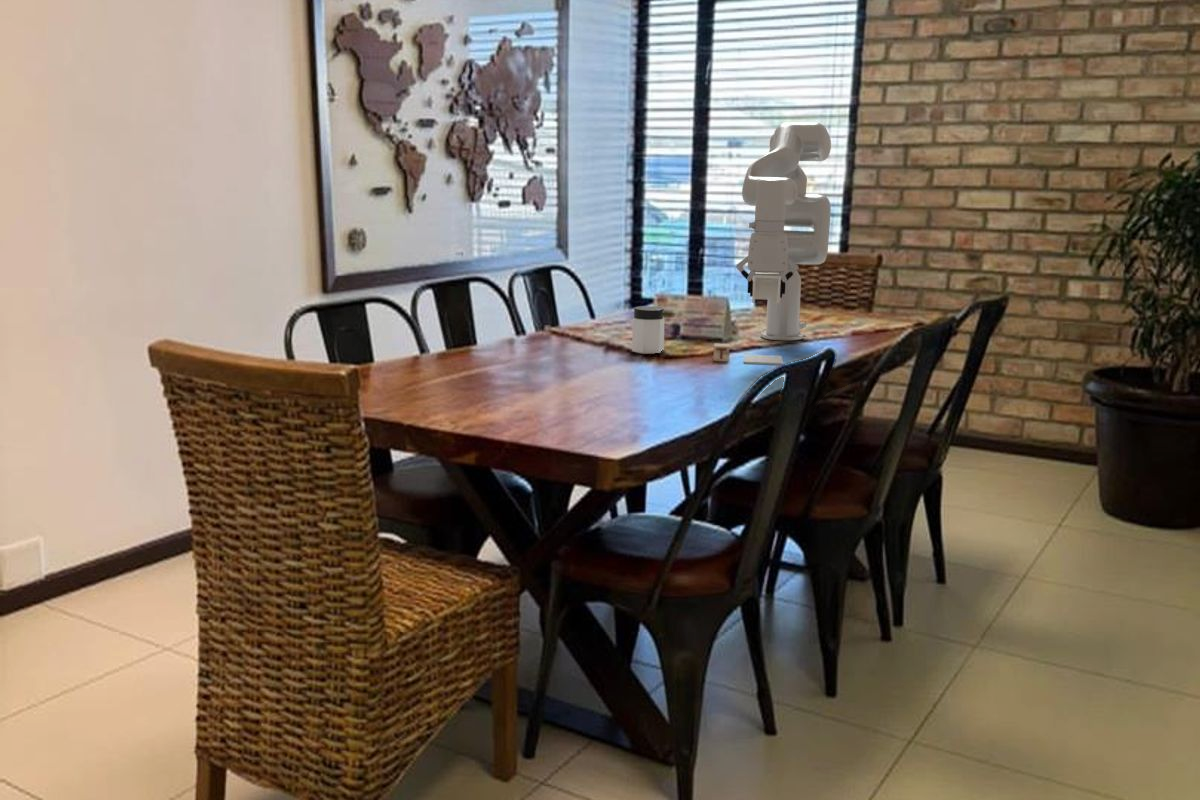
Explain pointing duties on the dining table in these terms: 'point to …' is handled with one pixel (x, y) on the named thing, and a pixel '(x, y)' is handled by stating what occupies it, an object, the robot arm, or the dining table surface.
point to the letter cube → (721, 352)
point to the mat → (763, 359)
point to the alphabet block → (766, 286)
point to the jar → (648, 330)
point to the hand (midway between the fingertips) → (765, 295)
